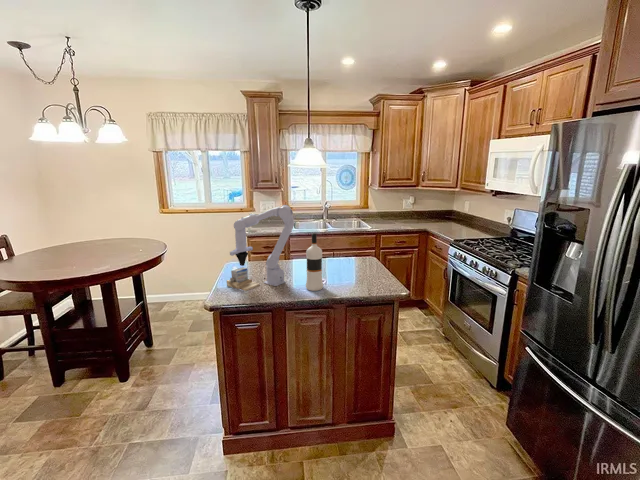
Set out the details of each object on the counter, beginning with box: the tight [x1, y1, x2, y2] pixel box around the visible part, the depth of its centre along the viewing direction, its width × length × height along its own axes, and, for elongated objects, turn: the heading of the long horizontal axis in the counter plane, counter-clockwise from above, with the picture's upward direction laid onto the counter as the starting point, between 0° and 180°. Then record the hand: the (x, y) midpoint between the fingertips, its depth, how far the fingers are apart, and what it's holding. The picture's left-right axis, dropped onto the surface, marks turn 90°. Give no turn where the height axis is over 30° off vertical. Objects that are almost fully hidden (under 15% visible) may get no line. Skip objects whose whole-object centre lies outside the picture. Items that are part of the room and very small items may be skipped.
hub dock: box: [226, 276, 260, 292], centre depth 175 cm, size 14×11×5 cm
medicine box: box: [230, 266, 249, 283], centre depth 177 cm, size 8×4×9 cm, turn 144°
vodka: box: [305, 232, 324, 292], centre depth 168 cm, size 9×9×30 cm
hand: (242, 265), depth 177 cm, fingers closed
